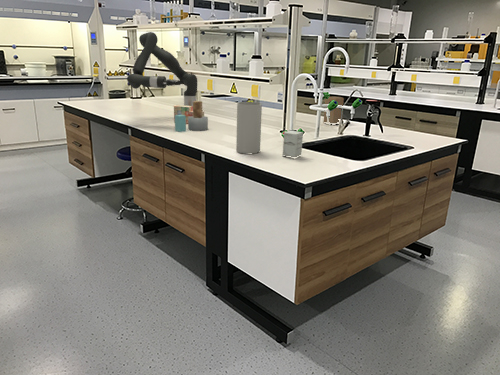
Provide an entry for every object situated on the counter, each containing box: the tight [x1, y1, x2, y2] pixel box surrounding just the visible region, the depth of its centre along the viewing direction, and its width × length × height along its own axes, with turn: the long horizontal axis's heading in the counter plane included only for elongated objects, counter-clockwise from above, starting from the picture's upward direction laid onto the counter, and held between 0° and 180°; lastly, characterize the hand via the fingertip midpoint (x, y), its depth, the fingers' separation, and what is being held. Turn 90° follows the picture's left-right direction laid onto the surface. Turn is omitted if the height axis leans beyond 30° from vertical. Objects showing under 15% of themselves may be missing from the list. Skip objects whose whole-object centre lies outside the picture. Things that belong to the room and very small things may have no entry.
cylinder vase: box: [235, 101, 263, 154], centre depth 204 cm, size 12×12×25 cm
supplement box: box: [282, 130, 304, 157], centre depth 199 cm, size 7×7×13 cm
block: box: [323, 96, 345, 123], centre depth 297 cm, size 10×10×20 cm
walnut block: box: [193, 100, 203, 118], centre depth 260 cm, size 5×5×10 cm
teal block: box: [174, 115, 187, 133], centre depth 255 cm, size 5×5×10 cm
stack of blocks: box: [173, 104, 205, 125], centre depth 282 cm, size 21×6×12 cm, turn 68°
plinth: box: [187, 115, 209, 132], centre depth 263 cm, size 13×13×8 cm
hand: (182, 82), depth 256 cm, fingers open, 8 cm apart
